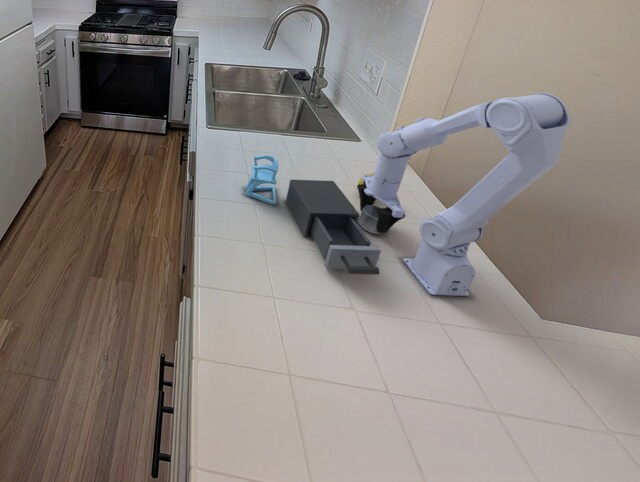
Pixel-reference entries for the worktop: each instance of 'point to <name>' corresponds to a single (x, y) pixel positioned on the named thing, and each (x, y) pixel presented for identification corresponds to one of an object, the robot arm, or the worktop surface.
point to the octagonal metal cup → (369, 218)
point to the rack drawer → (344, 245)
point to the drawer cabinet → (317, 202)
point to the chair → (263, 178)
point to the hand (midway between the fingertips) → (372, 221)
